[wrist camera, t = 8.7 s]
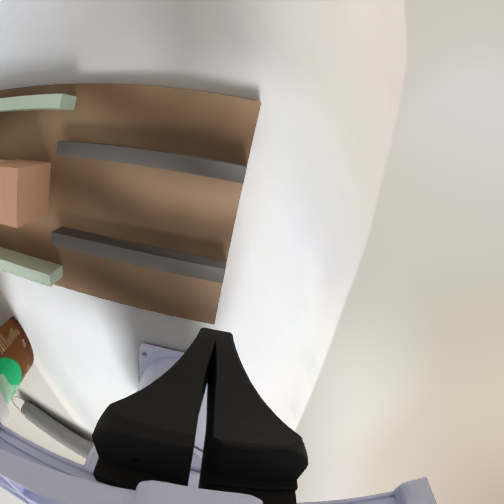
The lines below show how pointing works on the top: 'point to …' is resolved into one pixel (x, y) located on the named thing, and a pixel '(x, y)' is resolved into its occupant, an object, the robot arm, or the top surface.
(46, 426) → the kitchen whisk
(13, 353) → the food container
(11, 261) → the tray
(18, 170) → the terracotta block
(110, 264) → the groove board
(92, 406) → the top surface
